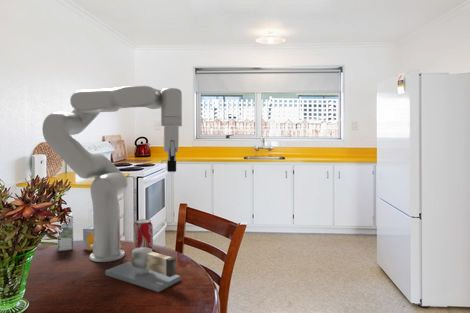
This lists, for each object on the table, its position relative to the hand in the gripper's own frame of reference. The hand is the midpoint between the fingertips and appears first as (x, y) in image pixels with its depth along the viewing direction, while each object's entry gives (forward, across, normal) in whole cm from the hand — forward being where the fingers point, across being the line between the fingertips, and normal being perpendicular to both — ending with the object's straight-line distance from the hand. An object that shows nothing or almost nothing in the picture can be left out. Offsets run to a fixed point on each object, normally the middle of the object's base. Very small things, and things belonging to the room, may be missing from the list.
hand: (171, 171), depth 131 cm
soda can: (+33, -12, -11) cm, 37 cm away
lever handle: (+29, +20, -7) cm, 36 cm away
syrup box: (+33, -20, -42) cm, 57 cm away
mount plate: (+33, +16, -11) cm, 38 cm away
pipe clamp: (+33, -17, -26) cm, 46 cm away
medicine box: (+33, -20, -31) cm, 50 cm away
